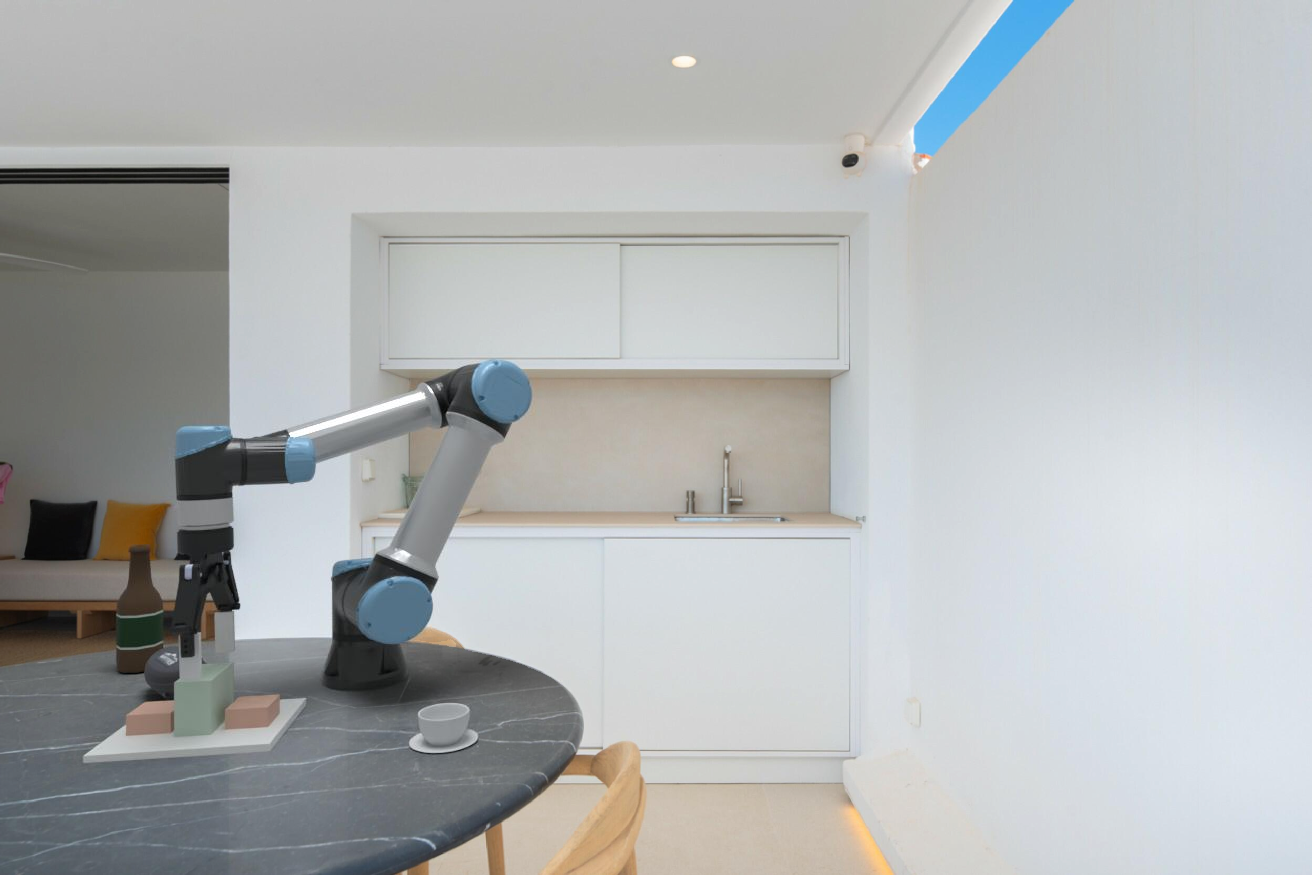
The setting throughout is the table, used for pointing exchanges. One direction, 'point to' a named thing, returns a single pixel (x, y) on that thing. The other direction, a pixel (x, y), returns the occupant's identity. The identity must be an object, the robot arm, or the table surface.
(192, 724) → the key block
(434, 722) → the teacup
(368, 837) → the table surface
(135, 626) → the beer bottle
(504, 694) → the table surface
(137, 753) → the slot base
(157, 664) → the glasses case
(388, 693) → the table surface
